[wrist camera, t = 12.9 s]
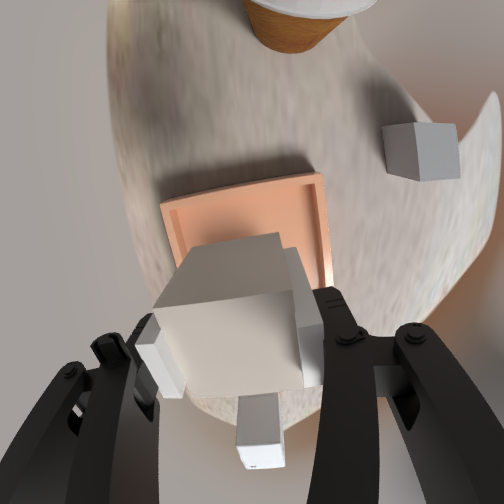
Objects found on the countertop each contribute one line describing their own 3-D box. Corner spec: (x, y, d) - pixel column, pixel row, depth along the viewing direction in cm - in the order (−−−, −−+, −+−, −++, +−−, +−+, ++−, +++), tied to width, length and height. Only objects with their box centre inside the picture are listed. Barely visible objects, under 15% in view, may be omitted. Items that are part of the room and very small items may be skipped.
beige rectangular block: (192, 246, 14) (152, 308, 8) (278, 231, 14) (292, 289, 8) (212, 319, 16) (193, 398, 10) (290, 308, 15) (304, 388, 10)
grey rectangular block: (381, 126, 21) (413, 122, 16) (419, 126, 21) (455, 124, 15) (387, 173, 23) (420, 181, 17) (424, 170, 22) (460, 178, 17)
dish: (168, 198, 24) (159, 204, 22) (315, 171, 23) (321, 173, 21) (204, 321, 29) (199, 335, 26) (329, 302, 28) (334, 316, 25)
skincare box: (280, 389, 32) (286, 467, 21) (248, 392, 33) (244, 470, 22) (276, 356, 30) (281, 443, 19) (240, 360, 31) (232, 446, 19)
